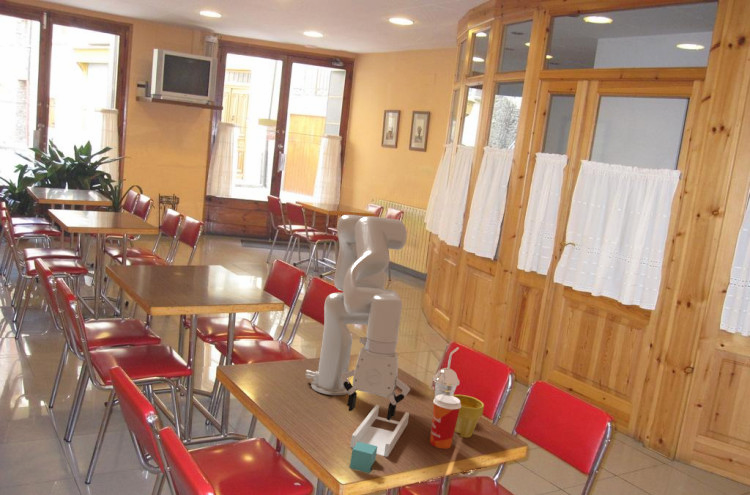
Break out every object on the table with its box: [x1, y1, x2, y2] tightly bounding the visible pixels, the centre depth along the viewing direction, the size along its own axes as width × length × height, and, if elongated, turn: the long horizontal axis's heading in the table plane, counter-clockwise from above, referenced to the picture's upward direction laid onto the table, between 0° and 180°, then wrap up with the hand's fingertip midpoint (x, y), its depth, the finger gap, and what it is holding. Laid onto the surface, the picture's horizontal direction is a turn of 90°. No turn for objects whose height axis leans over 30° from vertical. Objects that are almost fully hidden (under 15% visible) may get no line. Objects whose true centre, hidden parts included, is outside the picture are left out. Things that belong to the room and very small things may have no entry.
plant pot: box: [452, 394, 485, 438], centre depth 190 cm, size 10×10×10 cm
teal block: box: [349, 441, 377, 474], centre depth 161 cm, size 5×5×5 cm
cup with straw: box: [432, 346, 460, 398], centre depth 205 cm, size 8×9×20 cm
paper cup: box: [429, 394, 461, 449], centre depth 177 cm, size 8×8×14 cm
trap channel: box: [349, 404, 410, 458], centre depth 178 cm, size 10×24×4 cm, turn 165°
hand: (370, 413), depth 159 cm, fingers open, 9 cm apart
